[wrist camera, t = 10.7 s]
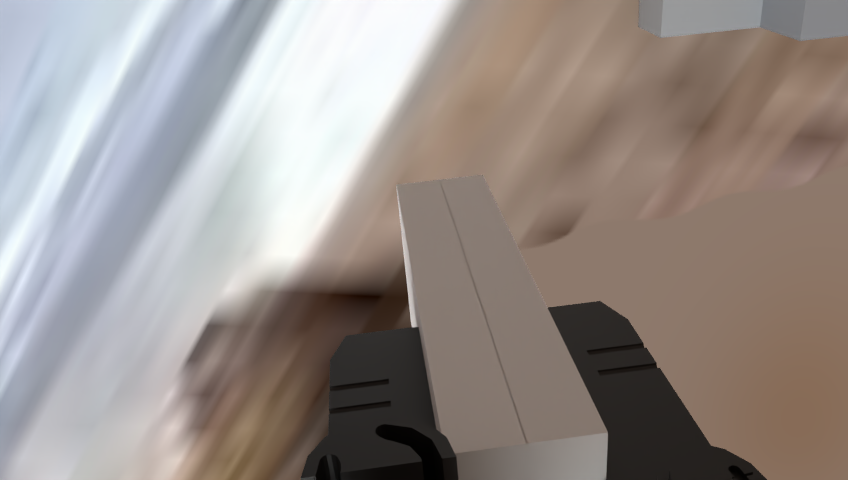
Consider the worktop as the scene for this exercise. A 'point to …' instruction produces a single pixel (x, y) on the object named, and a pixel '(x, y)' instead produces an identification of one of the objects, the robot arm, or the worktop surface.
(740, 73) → the worktop surface
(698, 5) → the grey tray
